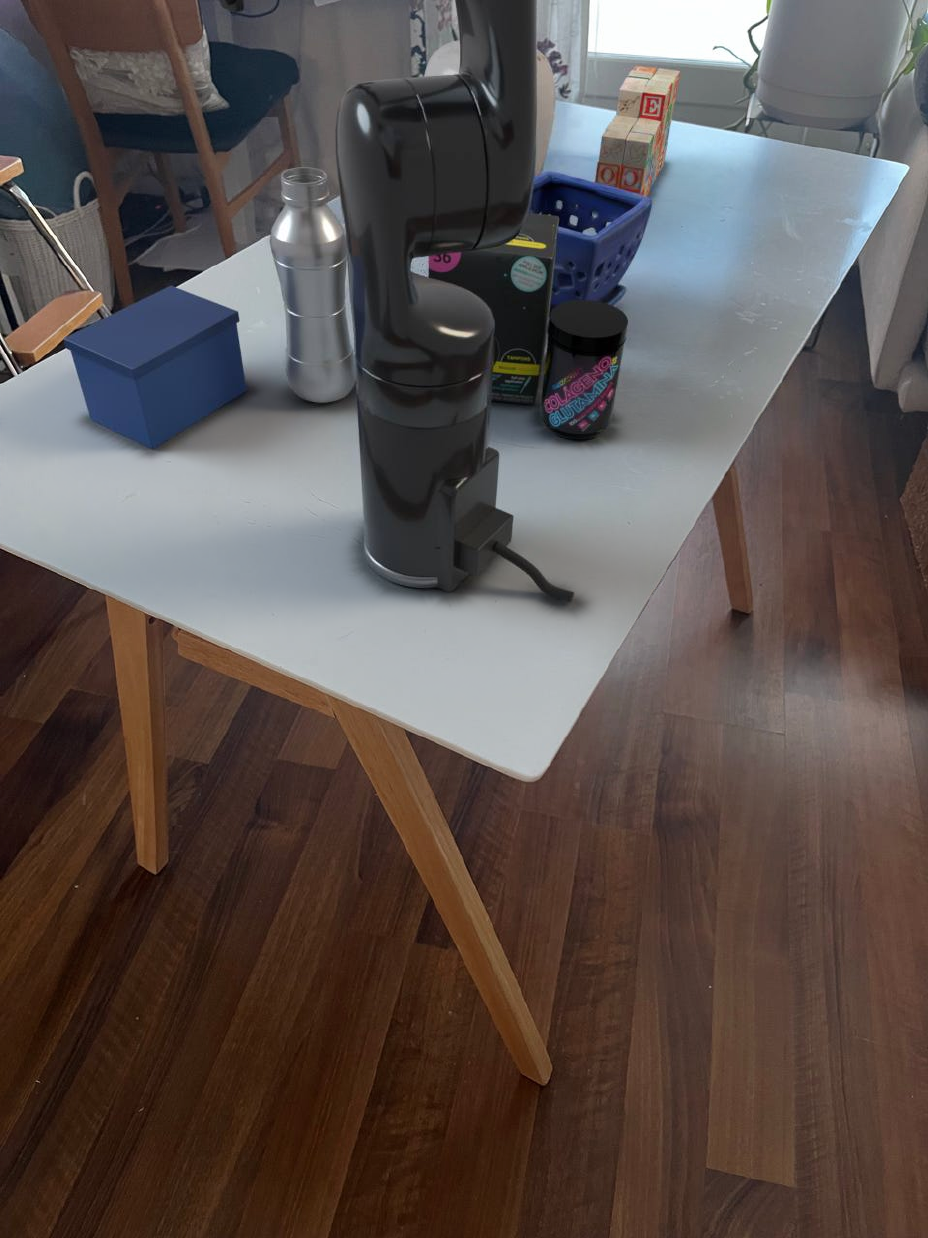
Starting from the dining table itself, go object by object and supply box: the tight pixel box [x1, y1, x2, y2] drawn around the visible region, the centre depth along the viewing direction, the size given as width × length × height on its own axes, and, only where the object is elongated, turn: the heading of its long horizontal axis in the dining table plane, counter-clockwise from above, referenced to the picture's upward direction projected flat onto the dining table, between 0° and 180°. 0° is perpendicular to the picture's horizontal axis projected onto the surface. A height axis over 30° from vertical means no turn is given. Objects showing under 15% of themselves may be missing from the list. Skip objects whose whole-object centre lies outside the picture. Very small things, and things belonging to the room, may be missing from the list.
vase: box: [423, 39, 557, 177], centre depth 111 cm, size 16×16×23 cm
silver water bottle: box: [269, 166, 356, 403], centre depth 82 cm, size 6×7×20 cm
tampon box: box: [427, 213, 559, 406], centre depth 87 cm, size 11×9×15 cm
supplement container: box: [539, 300, 629, 441], centre depth 83 cm, size 7×7×10 cm
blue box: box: [63, 285, 248, 450], centre depth 84 cm, size 8×12×8 cm
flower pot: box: [529, 170, 653, 332], centre depth 98 cm, size 13×13×12 cm
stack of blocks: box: [594, 65, 681, 197], centre depth 125 cm, size 21×6×12 cm, turn 162°
